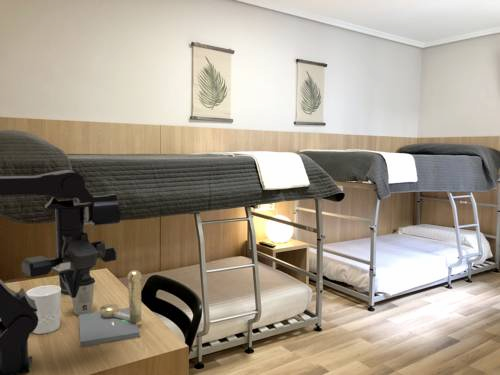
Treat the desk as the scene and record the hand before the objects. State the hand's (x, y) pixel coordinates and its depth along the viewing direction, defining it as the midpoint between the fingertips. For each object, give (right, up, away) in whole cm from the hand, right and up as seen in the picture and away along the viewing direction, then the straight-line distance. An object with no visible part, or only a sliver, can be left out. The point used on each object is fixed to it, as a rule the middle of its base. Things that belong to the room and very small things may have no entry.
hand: (73, 297), depth 93 cm
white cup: (-13, -12, +14) cm, 23 cm away
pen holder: (-17, -9, +43) cm, 47 cm away
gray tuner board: (+3, -12, +15) cm, 19 cm away
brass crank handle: (+5, -10, +17) cm, 21 cm away
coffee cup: (-8, -11, +25) cm, 28 cm away
